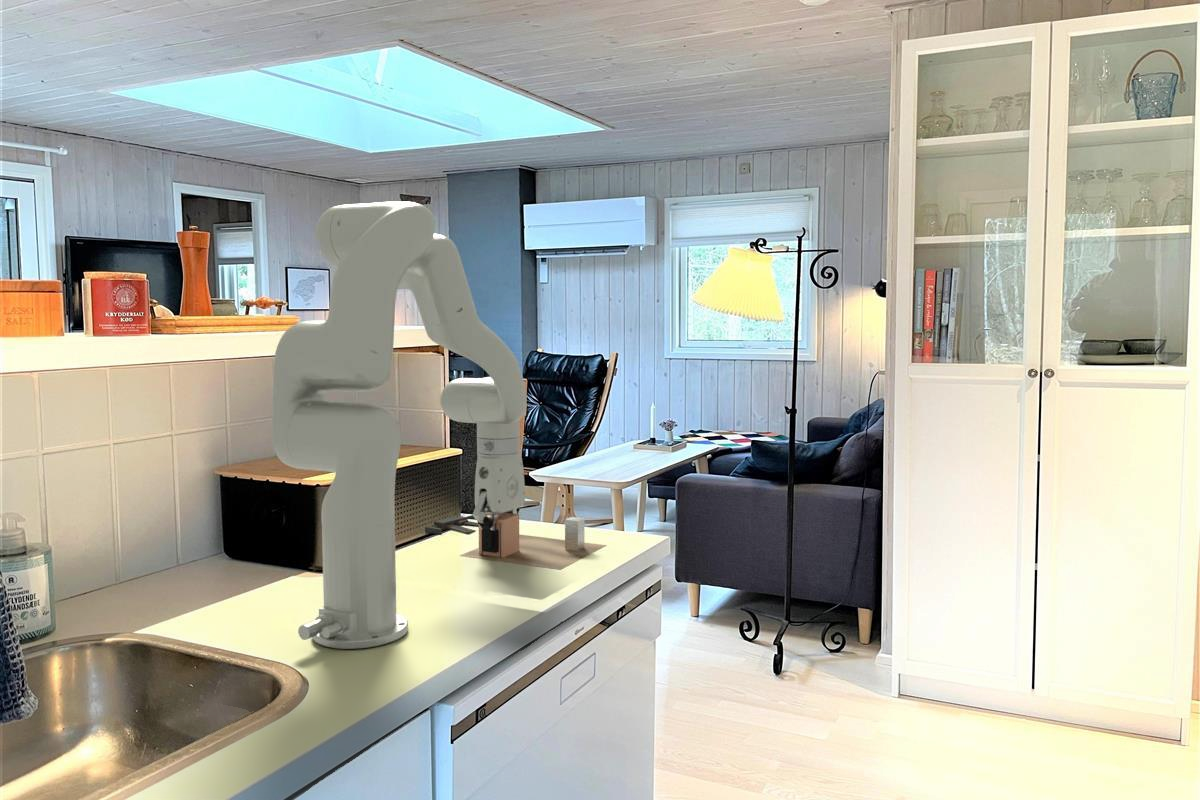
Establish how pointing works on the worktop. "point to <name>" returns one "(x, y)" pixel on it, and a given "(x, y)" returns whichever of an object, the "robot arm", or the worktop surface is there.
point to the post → (574, 534)
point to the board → (541, 553)
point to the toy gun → (452, 525)
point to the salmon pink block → (504, 535)
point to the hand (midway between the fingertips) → (499, 546)
